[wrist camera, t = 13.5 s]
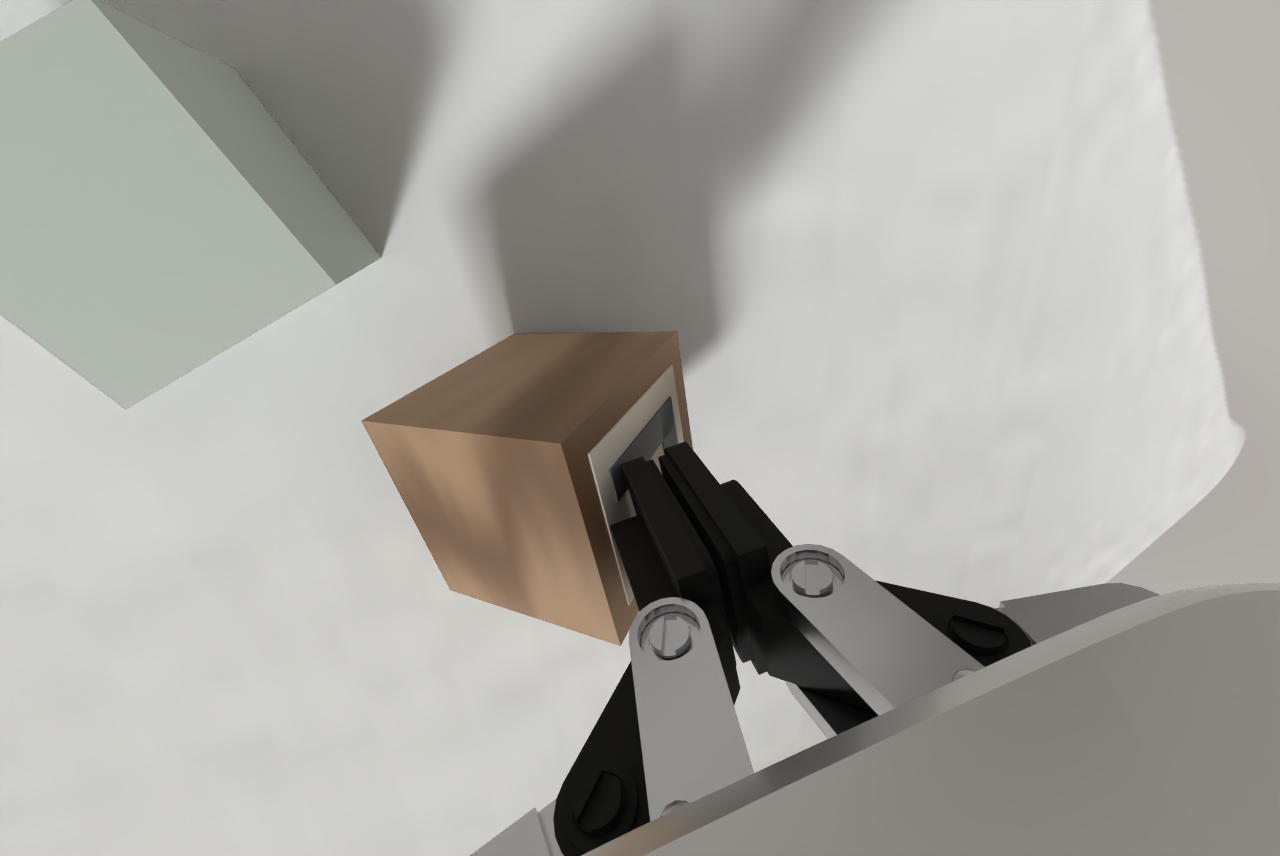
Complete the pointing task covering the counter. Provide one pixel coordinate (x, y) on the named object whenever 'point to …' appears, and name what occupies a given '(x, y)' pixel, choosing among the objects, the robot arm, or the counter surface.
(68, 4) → the sage block
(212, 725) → the counter surface
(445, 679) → the counter surface
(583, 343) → the walnut block
